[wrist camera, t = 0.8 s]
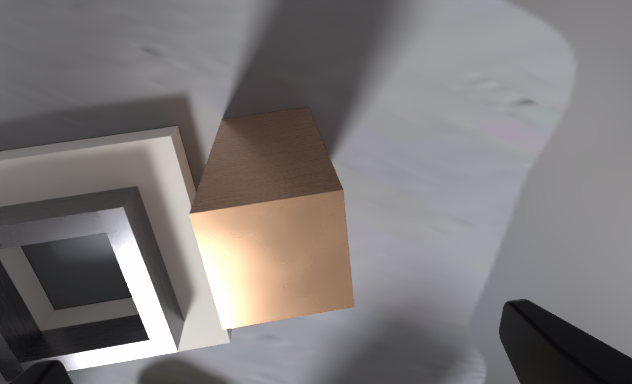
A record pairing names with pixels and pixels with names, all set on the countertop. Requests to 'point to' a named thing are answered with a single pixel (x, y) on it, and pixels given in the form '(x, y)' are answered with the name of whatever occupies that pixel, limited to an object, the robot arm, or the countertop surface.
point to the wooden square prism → (272, 221)
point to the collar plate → (126, 240)
